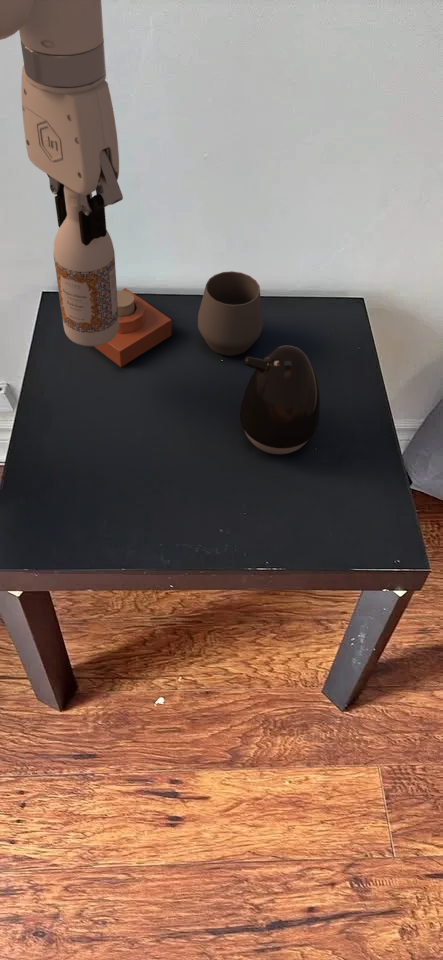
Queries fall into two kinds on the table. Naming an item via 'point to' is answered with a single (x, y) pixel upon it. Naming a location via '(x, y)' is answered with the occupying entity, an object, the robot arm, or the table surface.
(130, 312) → the tan short cylinder
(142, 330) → the button housing
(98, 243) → the bath foam
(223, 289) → the cup
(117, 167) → the robot arm
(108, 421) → the table surface
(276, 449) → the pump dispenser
